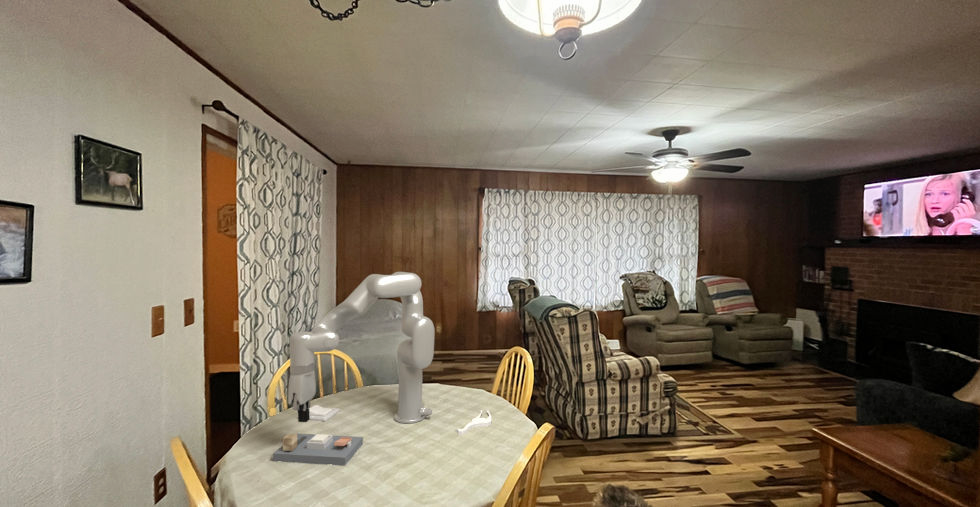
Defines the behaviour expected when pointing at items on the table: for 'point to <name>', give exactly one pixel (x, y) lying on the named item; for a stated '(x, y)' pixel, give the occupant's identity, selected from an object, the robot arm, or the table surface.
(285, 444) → the slider knob
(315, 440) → the push button
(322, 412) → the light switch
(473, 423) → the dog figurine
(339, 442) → the rocker paddle
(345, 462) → the switch panel
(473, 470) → the table surface
